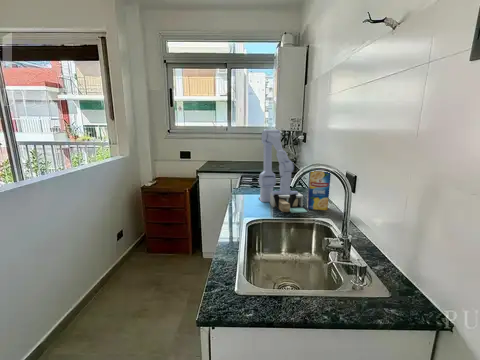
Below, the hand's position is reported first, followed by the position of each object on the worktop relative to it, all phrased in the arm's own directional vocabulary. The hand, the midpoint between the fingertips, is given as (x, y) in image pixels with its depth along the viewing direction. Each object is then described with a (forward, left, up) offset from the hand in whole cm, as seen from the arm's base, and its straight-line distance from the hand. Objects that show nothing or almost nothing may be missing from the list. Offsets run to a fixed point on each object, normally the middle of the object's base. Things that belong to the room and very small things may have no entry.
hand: (284, 207), depth 149 cm
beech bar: (-4, 0, -2) cm, 5 cm away
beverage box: (-4, +21, -2) cm, 21 cm away
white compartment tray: (-11, +4, -2) cm, 12 cm away
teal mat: (0, +7, -2) cm, 8 cm away
